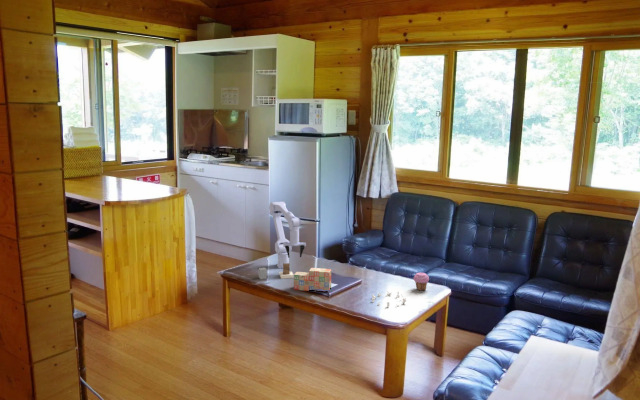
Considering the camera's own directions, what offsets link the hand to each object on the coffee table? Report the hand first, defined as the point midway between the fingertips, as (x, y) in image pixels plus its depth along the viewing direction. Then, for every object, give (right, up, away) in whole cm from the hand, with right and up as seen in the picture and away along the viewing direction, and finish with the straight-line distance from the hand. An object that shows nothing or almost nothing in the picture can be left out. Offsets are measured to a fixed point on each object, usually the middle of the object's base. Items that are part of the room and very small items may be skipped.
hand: (294, 257), depth 340 cm
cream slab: (-5, -12, -6) cm, 14 cm away
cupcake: (+76, -16, -29) cm, 83 cm away
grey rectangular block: (-19, -12, -9) cm, 25 cm away
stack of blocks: (+12, -16, -30) cm, 36 cm away
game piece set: (+54, -20, -49) cm, 75 cm away
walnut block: (-5, -10, -6) cm, 13 cm away
